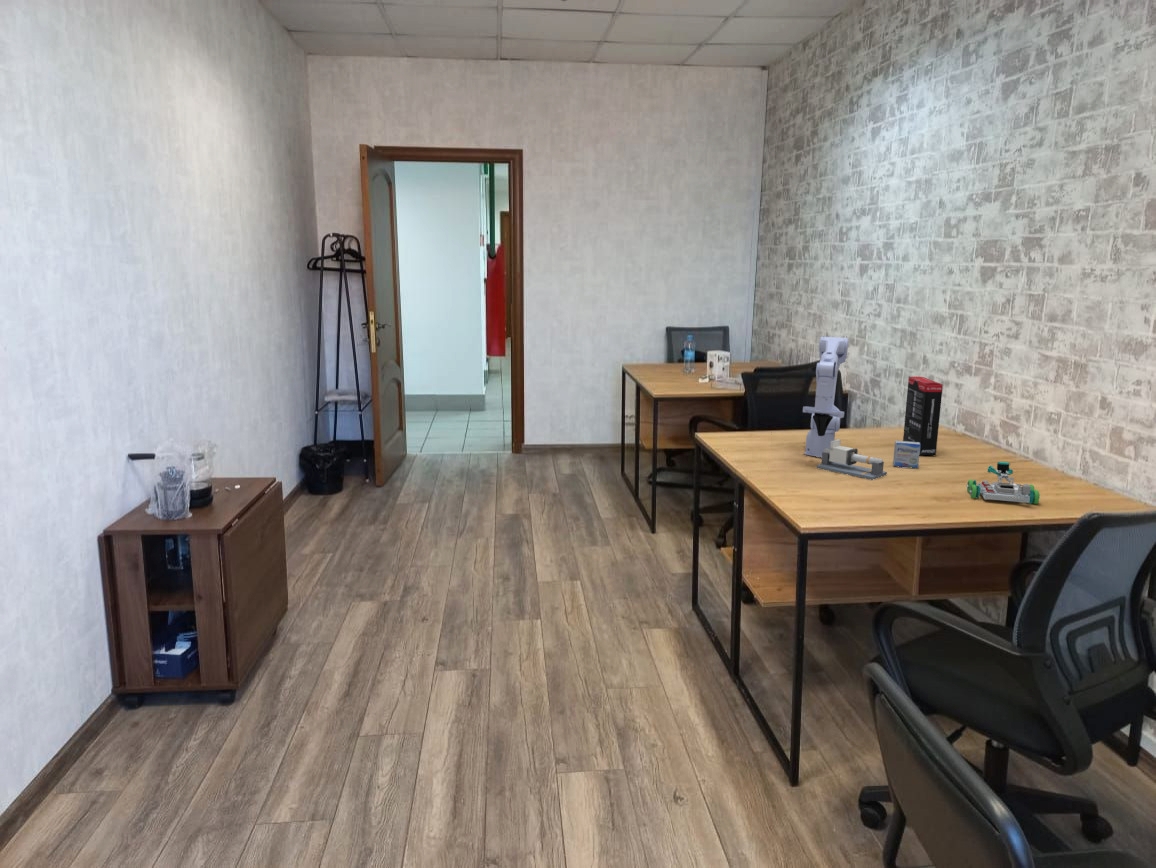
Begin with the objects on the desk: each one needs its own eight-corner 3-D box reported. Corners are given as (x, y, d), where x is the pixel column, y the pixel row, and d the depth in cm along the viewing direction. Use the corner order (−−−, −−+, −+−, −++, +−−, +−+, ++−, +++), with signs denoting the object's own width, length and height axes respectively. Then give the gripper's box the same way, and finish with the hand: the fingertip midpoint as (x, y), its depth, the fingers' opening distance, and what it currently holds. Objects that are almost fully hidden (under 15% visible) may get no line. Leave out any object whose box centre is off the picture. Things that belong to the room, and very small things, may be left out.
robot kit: (1023, 486, 252) (1027, 458, 250) (1042, 509, 229) (1046, 478, 227) (959, 481, 257) (962, 453, 255) (971, 502, 234) (975, 472, 232)
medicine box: (893, 467, 273) (896, 442, 272) (892, 464, 278) (895, 439, 276) (918, 469, 271) (920, 444, 269) (916, 465, 275) (919, 441, 274)
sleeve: (829, 461, 269) (830, 441, 268) (836, 458, 273) (838, 439, 271) (845, 464, 265) (847, 444, 264) (852, 462, 268) (854, 442, 267)
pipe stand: (816, 468, 270) (818, 450, 269) (831, 463, 277) (833, 445, 276) (872, 480, 256) (874, 461, 255) (886, 474, 263) (888, 456, 262)
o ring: (846, 465, 265) (847, 450, 264) (854, 462, 268) (855, 448, 267) (849, 466, 264) (850, 450, 263) (856, 463, 268) (858, 448, 266)
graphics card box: (937, 457, 288) (945, 383, 283) (917, 456, 289) (925, 382, 283) (918, 446, 305) (925, 376, 299) (900, 446, 305) (907, 376, 300)
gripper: (799, 395, 272) (796, 433, 275) (838, 400, 262) (834, 440, 265) (810, 393, 277) (807, 431, 280) (848, 398, 267) (845, 437, 269)
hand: (821, 435), depth 273 cm, fingers closed
